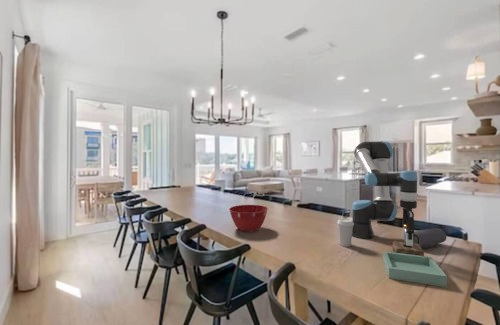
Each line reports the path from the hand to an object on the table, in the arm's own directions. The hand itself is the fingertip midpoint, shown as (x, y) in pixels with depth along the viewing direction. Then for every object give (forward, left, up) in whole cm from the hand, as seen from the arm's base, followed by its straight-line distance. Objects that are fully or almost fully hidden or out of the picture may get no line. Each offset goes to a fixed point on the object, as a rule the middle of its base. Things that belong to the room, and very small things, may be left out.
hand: (407, 242), depth 134 cm
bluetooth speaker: (+14, +23, -8) cm, 28 cm away
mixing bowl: (-98, +18, -8) cm, 100 cm away
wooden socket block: (0, 0, -8) cm, 8 cm away
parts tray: (-2, -19, -8) cm, 21 cm away
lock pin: (0, 0, -6) cm, 6 cm away
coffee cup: (-31, +8, -8) cm, 33 cm away
